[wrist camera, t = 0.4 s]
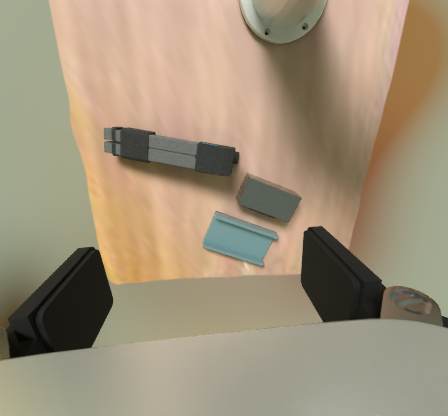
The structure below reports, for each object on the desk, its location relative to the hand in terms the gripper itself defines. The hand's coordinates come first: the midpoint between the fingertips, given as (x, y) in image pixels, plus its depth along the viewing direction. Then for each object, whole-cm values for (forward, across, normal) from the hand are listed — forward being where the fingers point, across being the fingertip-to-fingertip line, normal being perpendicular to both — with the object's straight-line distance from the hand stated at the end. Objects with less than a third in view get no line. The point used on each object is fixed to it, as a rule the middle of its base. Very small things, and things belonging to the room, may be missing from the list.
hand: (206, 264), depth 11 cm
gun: (+33, +5, -2) cm, 33 cm away
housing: (+32, -11, +8) cm, 35 cm away
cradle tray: (+32, -5, +16) cm, 37 cm away
